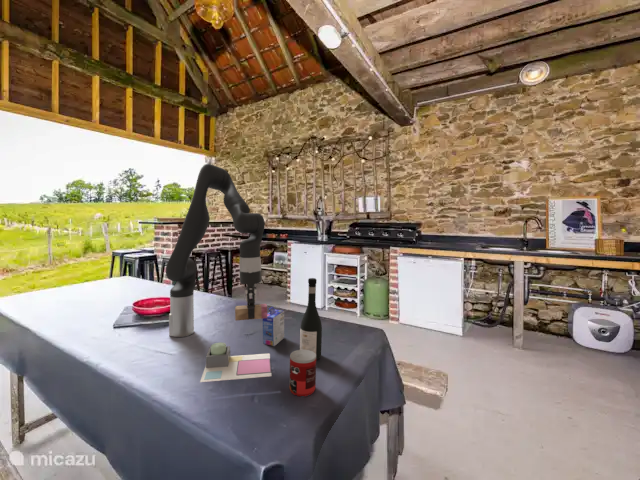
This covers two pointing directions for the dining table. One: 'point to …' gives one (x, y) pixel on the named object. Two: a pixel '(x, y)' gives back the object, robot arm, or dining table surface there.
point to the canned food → (302, 372)
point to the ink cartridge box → (273, 327)
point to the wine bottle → (311, 324)
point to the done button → (218, 349)
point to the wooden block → (242, 312)
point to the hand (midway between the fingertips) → (251, 316)
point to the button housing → (218, 359)
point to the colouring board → (240, 368)
